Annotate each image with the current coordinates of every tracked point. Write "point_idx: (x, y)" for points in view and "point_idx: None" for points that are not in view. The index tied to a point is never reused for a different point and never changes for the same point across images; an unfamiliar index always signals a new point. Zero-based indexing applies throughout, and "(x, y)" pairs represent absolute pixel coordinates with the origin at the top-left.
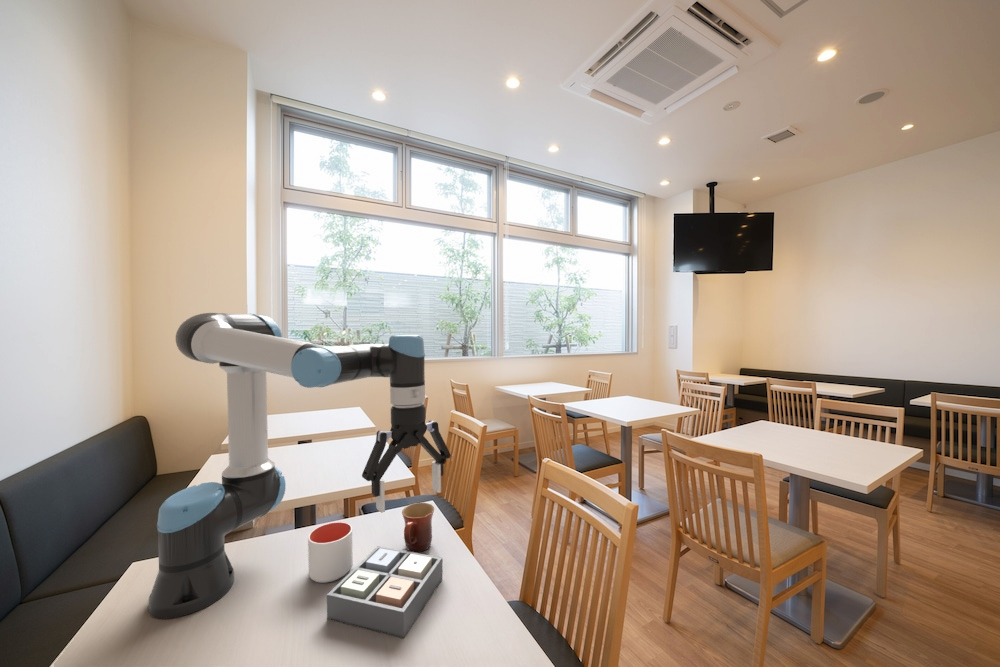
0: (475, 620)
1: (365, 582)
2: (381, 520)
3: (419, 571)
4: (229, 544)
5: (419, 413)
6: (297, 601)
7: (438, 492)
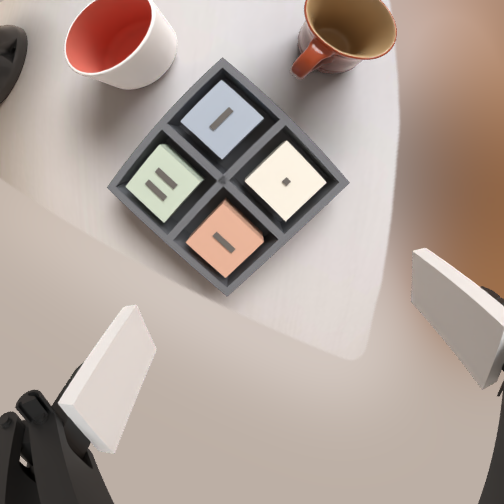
0: (336, 294)
1: (170, 196)
2: None
3: (284, 217)
4: None
5: None
6: (87, 118)
7: (412, 302)
